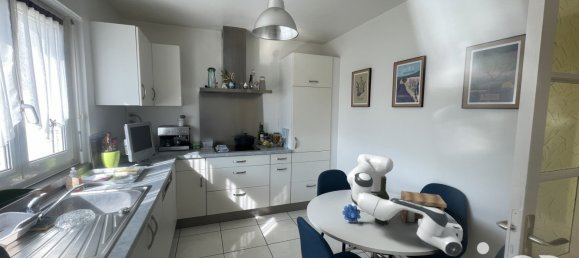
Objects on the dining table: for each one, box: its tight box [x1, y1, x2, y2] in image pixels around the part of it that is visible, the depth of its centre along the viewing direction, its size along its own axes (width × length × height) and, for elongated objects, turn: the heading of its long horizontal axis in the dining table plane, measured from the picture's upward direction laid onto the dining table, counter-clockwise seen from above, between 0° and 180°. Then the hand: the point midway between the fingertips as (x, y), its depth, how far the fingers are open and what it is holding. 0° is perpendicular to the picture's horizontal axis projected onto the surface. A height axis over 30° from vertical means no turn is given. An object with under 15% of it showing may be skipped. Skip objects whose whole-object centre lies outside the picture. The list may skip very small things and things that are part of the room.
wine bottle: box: [374, 175, 390, 226], centre depth 148 cm, size 8×8×30 cm
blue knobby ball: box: [342, 203, 361, 224], centre depth 146 cm, size 12×7×12 cm, turn 93°
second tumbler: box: [405, 210, 416, 223], centre depth 152 cm, size 6×6×11 cm
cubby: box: [399, 190, 448, 225], centre depth 147 cm, size 22×16×17 cm
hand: (435, 220), depth 135 cm, fingers closed on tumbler, 6 cm apart
